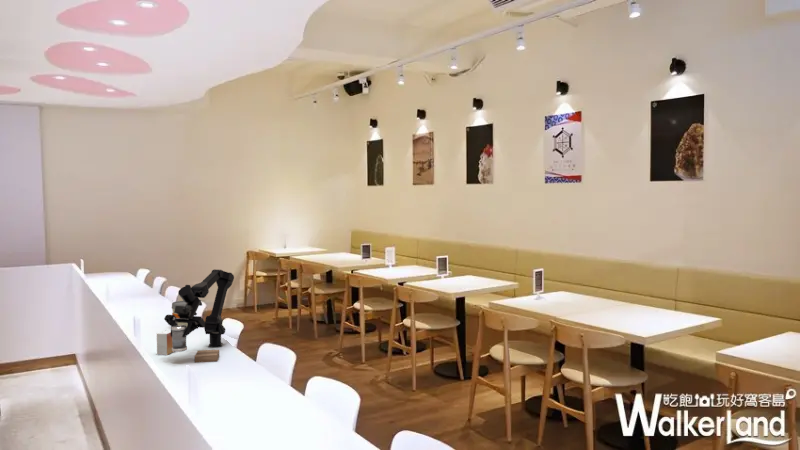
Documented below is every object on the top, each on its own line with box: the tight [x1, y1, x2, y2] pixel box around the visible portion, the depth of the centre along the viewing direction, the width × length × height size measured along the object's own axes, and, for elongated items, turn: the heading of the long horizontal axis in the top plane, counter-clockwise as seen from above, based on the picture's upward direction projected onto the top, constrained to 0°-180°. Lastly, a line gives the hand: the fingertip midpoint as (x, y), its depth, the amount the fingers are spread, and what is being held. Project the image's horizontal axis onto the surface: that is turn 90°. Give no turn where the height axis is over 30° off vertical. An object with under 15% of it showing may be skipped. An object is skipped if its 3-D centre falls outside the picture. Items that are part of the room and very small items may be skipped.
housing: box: [170, 325, 188, 353], centre depth 273 cm, size 7×7×11 cm
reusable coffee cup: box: [171, 300, 188, 326], centre depth 343 cm, size 13×13×15 cm
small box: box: [156, 329, 174, 356], centre depth 290 cm, size 8×6×10 cm
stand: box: [194, 349, 220, 363], centre depth 279 cm, size 10×10×3 cm
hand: (177, 336), depth 272 cm, fingers closed on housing, 6 cm apart
